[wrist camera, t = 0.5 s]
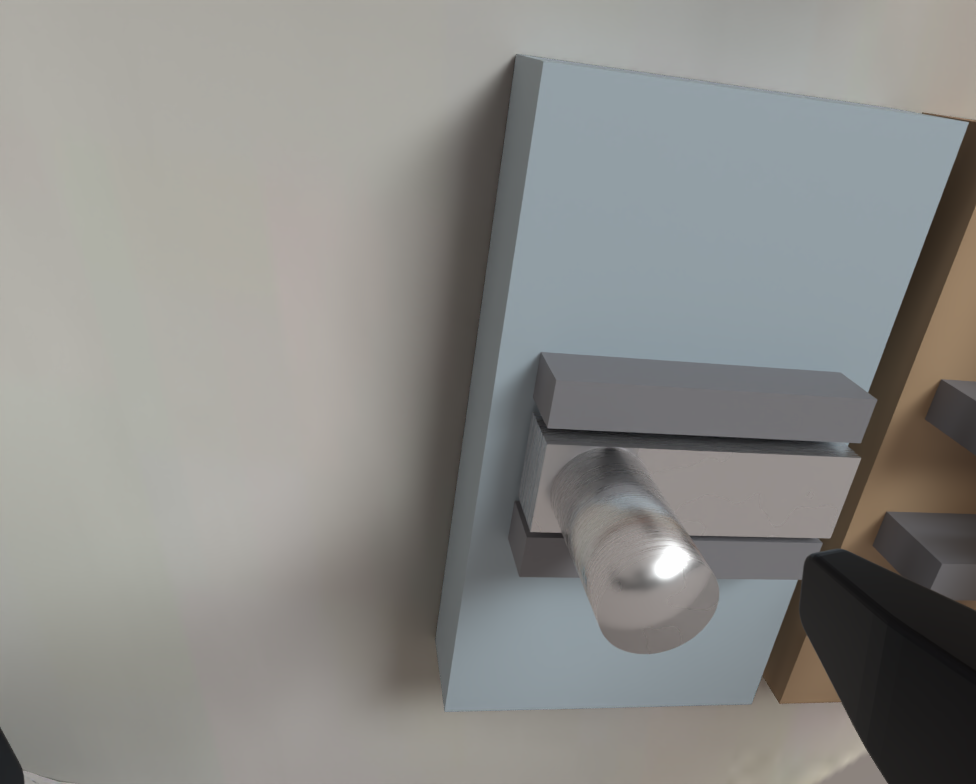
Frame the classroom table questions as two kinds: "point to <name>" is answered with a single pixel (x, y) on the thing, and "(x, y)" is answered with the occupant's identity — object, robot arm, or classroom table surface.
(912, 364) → the jamb
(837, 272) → the door panel
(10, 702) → the classroom table surface
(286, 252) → the classroom table surface
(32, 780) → the decorative butterfly
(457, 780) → the classroom table surface
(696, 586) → the bolt
